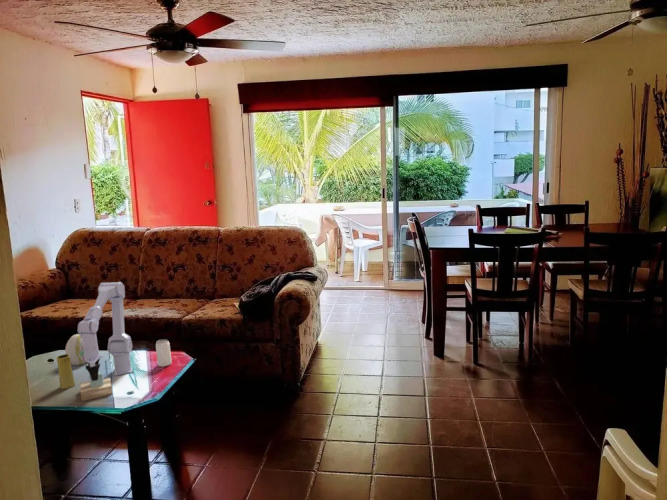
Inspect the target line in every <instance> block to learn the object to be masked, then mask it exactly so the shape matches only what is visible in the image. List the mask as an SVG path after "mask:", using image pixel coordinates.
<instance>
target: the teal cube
mask: <svg viewBox="0 0 667 500" xmlns="http://www.w3.org/2000/svg"><path fill="white" fill-rule="evenodd" d="M88 378H89V382H90V385H91V388H92V387H97V386H102V385H103V379H104V375H103V370H98V380H95V381H92V379H91V376H90V374H89V376H88Z"/></svg>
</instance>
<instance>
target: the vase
mask: <svg viewBox="0 0 667 500" xmlns="http://www.w3.org/2000/svg"><path fill="white" fill-rule="evenodd" d="M56 364H57V369H58V370H57V371H58V379H59V388H60V389H61V390H62V389H63V390H65V389H70V388H72V387H75V385H76V382H75V379H74V373H73V368H72V364H71V361H70V355H69V354H60V355H57V356H56Z"/></svg>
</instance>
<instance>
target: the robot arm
mask: <svg viewBox="0 0 667 500" xmlns="http://www.w3.org/2000/svg"><path fill="white" fill-rule="evenodd" d="M97 292H98V295H97V297H96V300H95V302H94V305H93V306H91V307H89V309H88V311H87V312H86V315H85V317H84V319H83V320H81V321H79V322H78V324H77V334H80V337H81V338H82V342H83V349H84V356H85V361H86V362H87V363H86V364H87V365H85V369H86V371H87V372H88V374H89V375H90V376H91V379H92V381H95V380H98V371H100V370H99V369H100V367H101V363H99V362H100V360H101V358H103V354H100V350H99V345H98V337H97V332H98V330H99V325H100V322H99V321H100V319H101V317H102V316H103V312H104V311H103V308H104V307H105V305H106V304H107V302H108V301H110V302H111V315H112V316H111V317H112V335H111V336H110V337H109V338H108V343H107V351H108V353H109V354H110V355H111V357H112V358H113V359H112V360H113V365H114V368H113V372H114V376H115V377H116V376H122V375H125V374H131V373H133V372H134V371H133V367H132V364H131V356H130V353H131V352H132V350H133V341H132V338H131V336H130V335H129V334H127V333H126V332H125V330H126V329H125V312H124V309H125V308H124V299H125V298H126V290H125V284H123V282H121V281H118V282H113V281H112V282H100V284H99V286H98V288H97Z"/></svg>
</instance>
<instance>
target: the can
mask: <svg viewBox="0 0 667 500" xmlns="http://www.w3.org/2000/svg"><path fill="white" fill-rule="evenodd" d="M155 342H156V343H155V351H156V359H157V365H158V367H160V368H163V367H168V366H170V365H172V364H173V363H172V355H171V345H170V344H171V343H170V342H169V340H168V339H167V338H165V339H164V338H163V339H159V340H157V341H155Z"/></svg>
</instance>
